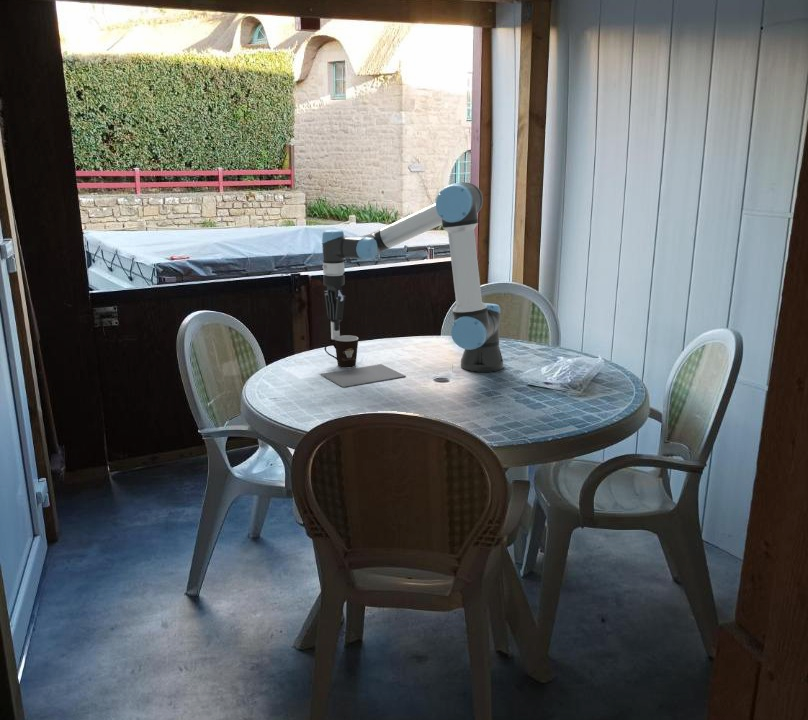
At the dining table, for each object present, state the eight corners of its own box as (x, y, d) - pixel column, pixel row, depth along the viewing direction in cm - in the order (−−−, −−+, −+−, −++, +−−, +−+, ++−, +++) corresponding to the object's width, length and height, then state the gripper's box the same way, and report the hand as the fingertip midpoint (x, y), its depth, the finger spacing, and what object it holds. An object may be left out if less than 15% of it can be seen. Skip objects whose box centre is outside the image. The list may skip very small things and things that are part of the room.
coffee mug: (360, 362, 276) (360, 335, 273) (356, 369, 268) (356, 341, 265) (329, 361, 277) (328, 334, 274) (324, 368, 269) (323, 340, 266)
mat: (405, 376, 259) (405, 375, 258) (342, 387, 247) (342, 386, 246) (381, 365, 273) (381, 364, 272) (320, 374, 261) (320, 373, 260)
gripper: (316, 272, 272) (318, 336, 278) (332, 277, 261) (333, 343, 268) (335, 270, 276) (336, 333, 282) (351, 275, 265) (352, 341, 271)
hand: (335, 338), depth 275 cm, fingers closed
